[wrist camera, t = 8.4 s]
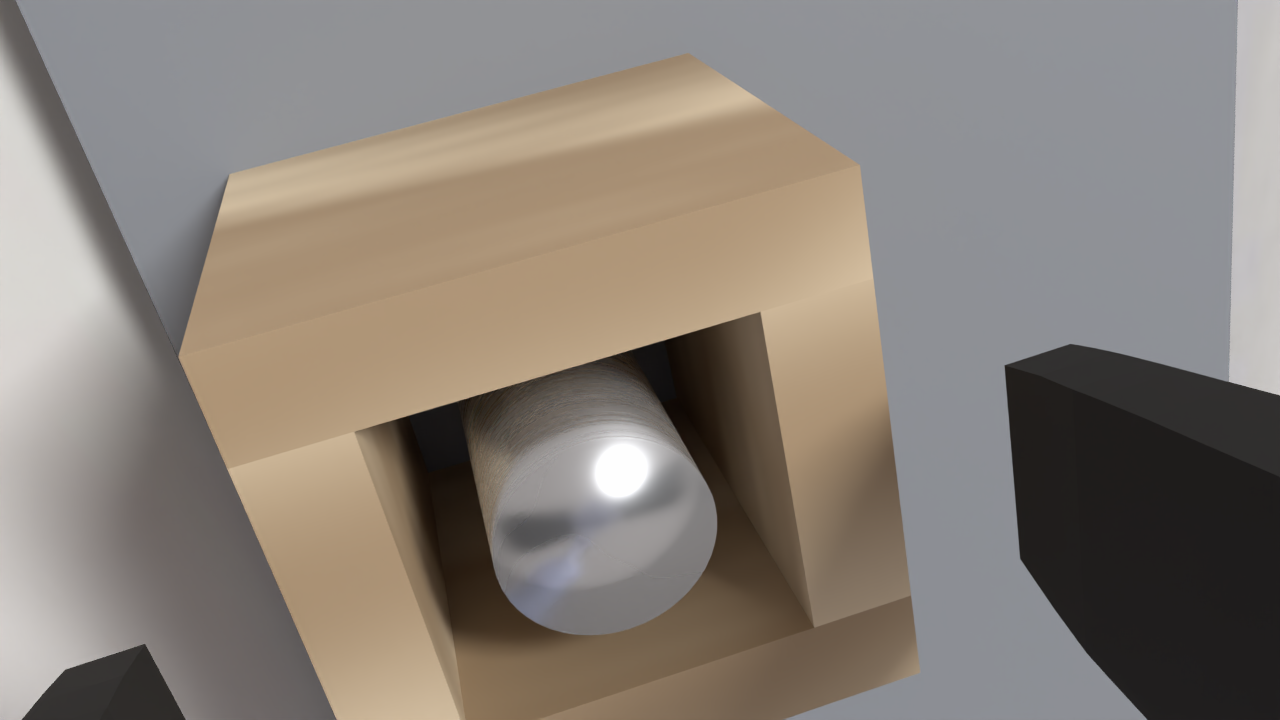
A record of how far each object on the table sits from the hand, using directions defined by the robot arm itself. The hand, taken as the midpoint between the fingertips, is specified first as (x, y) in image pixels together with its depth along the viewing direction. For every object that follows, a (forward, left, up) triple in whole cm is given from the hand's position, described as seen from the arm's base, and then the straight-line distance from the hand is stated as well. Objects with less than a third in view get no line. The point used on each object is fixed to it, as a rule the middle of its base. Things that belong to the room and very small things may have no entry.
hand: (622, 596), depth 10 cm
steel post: (0, 0, -6) cm, 6 cm away
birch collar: (0, 0, -6) cm, 6 cm away
